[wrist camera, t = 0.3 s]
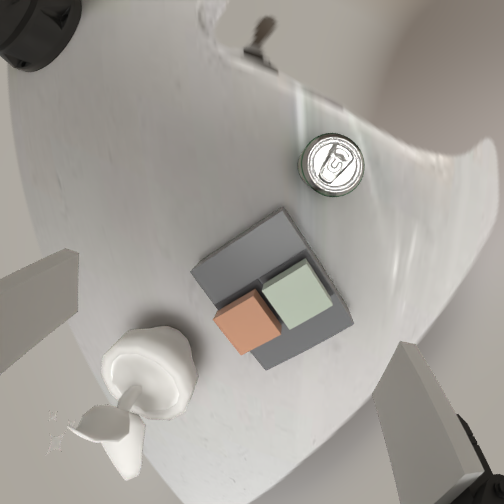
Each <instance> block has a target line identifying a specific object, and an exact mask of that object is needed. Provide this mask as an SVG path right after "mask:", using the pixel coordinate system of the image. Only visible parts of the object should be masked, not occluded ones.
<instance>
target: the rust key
mask: <svg viewBox="0 0 504 504" xmlns="http://www.w3.org/2000/svg"><path fill="white" fill-rule="evenodd" d="M213 320H214V322H215V323H216V324H217V326H218V327H219V328H220V329H221V331H222V332H223V333H224V334H225V336H226V337H227V338H228V340H229V341H230V342H231V343H232V345H233V346H234V347H235V348H236V350H237V351H238V352H239V353H240V355H243V354H245V353H247V352H249V351H251V350H253V349H254V348H256V347H258V346H260V345H262V344H264V343H266V342H268V341H270V340H272V339H274V338H276V337H277V336H279V335H281V330H282V325H281V324H280V322H279V321H278V319H277V318H276V317H275V315H274V314H273V312H272V311H271V310H270V308H269V307H268V305H267V304H266V303H265V301H264V300H263V299H262V297H261V296H260V294H259V293H258V291H257V290H256V289H254V290H252V291H251V292H249V293H247V294H246V295H244V296H242V297H241V298H239V299H237V300H235V301H234V302H232V303H230V304H229V305H227V306H225V307H224V308H222V309H220V310H219V311H217V313H216V314H215V316H214V318H213Z"/></svg>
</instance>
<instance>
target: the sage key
mask: <svg viewBox="0 0 504 504" xmlns="http://www.w3.org/2000/svg"><path fill="white" fill-rule="evenodd" d="M262 292H263V293H264V295H265V296H266V298H267V299H268V300H269V302H270V303H271V305H272V306H273V307H274V309H275V310H276V312H277V313H278V314H279V316H280V317H281V319H282V320H283V321H284V323H285V324H286V326H287V327H288V328H289V330H290V329H292V328H294V327H296V326H298V325H299V324H301V323H303V322H305V321H307V320H308V319H310V318H312V317H314V316H315V315H317V314H319V313H321V312H322V311H324V310H326V309H328V308H329V307H331V306H333V304H332V300H331V297H330V295H329V294H328V292H327V291H326V289H325V288H324V286H323V284H322V283H321V281H320V280H319V278H318V277H317V275H316V273H315V272H314V270H313V269H312V267H311V266H310V264H309V263H308V261H307V259H306V258H305V259H303V260H302V261H300V262H298V263H297V264H295V265H293V266H292V267H290V268H289V269H287V270H285V271H284V272H282V273H280V274H279V275H277V276H275V277H274V278H272V279H271V280H269V281H267V282H266V283H264V284H263V288H262Z"/></svg>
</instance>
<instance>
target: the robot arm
mask: <svg viewBox="0 0 504 504" xmlns="http://www.w3.org/2000/svg"><path fill="white" fill-rule="evenodd" d="M80 14H81V1H80V0H0V56H1V57H2V58H3V59H4V60H6V61H7V62H8V63H9V64H10V65H11V66H13V67H14V68H16V69H18V70H23V71H27V72H32V71H36V70H39V69H41V68H43V67H44V66H46V65H47V64H49V63H50V62H51V61H52V60H53V59H54V58H56V57H57V55H58V54H59V53H60V52H61V51H62V50H63V49H64V47H65V46H66V44H67V43H68V42H69V40H70V38H71V37H72V35H73V33H74V31H75V29H76V27H77V24H78V22H79V18H80ZM78 267H79V253H77V252H74V251H71V250H69V249H66V248H65V249H63V250H61V251H59V252H56V253H54V254H52V255H50V256H48V257H45V258H43V259H41V260H39V261H37V262H35V263H33V264H30V265H28V266H26V267H24V268H22V269H20V270H18V271H16V272H14V273H12V274H10V275H8V276H6V277H4V278H2V279H0V375H1V374H2V373H3V372H4V371H5V370H6V369H8V368H9V367H10V366H11V365H12V364H14V363H15V362H16V361H17V360H18V359H20V358H21V357H22V356H23V355H24V354H26V353H27V352H28V351H29V350H30V349H32V348H33V347H34V346H35V345H36V344H38V343H39V342H40V341H41V340H43V339H44V338H45V337H46V336H48V335H49V334H50V333H51V332H53V331H54V330H55V329H56V328H57V327H59V326H60V325H61V324H63V323H64V322H65V321H67V320H68V319H69V318H70V317H72V316H73V315H74V314H76V313H77V312H78ZM372 397H373V400H374V403H375V407H376V410H377V414H378V417H379V420H380V424H381V428H382V432H383V435H384V439H385V443H386V446H387V450H388V454H389V457H390V462H391V466H392V470H393V474H394V478H395V482H396V487H397V491H398V495H399V500H400V504H504V476H503V475H500V474H496V475H493V473H492V471H491V469H490V467H489V465H488V463H487V461H486V459H485V457H484V455H483V453H482V451H481V449H480V447H479V445H477V441H476V439H475V437H474V436H473V433H472V431H471V430H470V428H469V426H468V424H467V423H466V422H465V421H464V420H463V419H462V418H461V417H460V416H459V414H456V413H455V411H454V409H453V407H452V406H451V404H450V402H449V400H448V398H447V397H446V395H445V393H444V391H443V390H442V388H441V386H440V384H439V382H438V381H437V379H436V377H435V376H434V374H433V372H432V371H431V369H430V367H429V366H428V364H427V362H426V360H425V359H424V357H423V355H422V354H421V352H420V351H419V349H418V347H417V346H416V344H412V343H407V342H402V341H400V342H399V344H398V346H397V348H396V350H395V352H394V354H393V356H392V358H391V360H390V362H389V364H388V366H387V368H386V370H385V372H384V373H383V375H382V377H381V379H380V381H379V383H378V384H377V386H376V388H375V390H374V391H373V393H372Z"/></svg>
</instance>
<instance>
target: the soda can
mask: <svg viewBox="0 0 504 504" xmlns="http://www.w3.org/2000/svg"><path fill="white" fill-rule="evenodd" d="M364 166H365V165H364V158H363V155H362V153H361V151H360V149H359V147H358V146H357V145H356V144H355V143H354V142H353V141H352V140H351V139H349V138H348V137H346V136H344V135H341V134H336V133H327V134H322V135H320V136H318V137H316V138H314V139H313V140H312V141H311V142H310V143H309V144H308V145H307V146H306V148H305V149H304V150H303V152H302V153H301V155H300V157H299V160H298V171H299V174H300V177H301V178H302V180H303V181H304V182H305V183H306V184H307V185H309V186H310V187H311V188H312V189H313V190H315V191H316V192H318V193H319V194H322V195H324V196H329V197H339V196H344V195H346V194H348V193H350V192H351V191H353V190H354V189H355V188H356V187H357V186H358V185H359V183H360V182H361V180H362V177H363V174H364Z"/></svg>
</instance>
